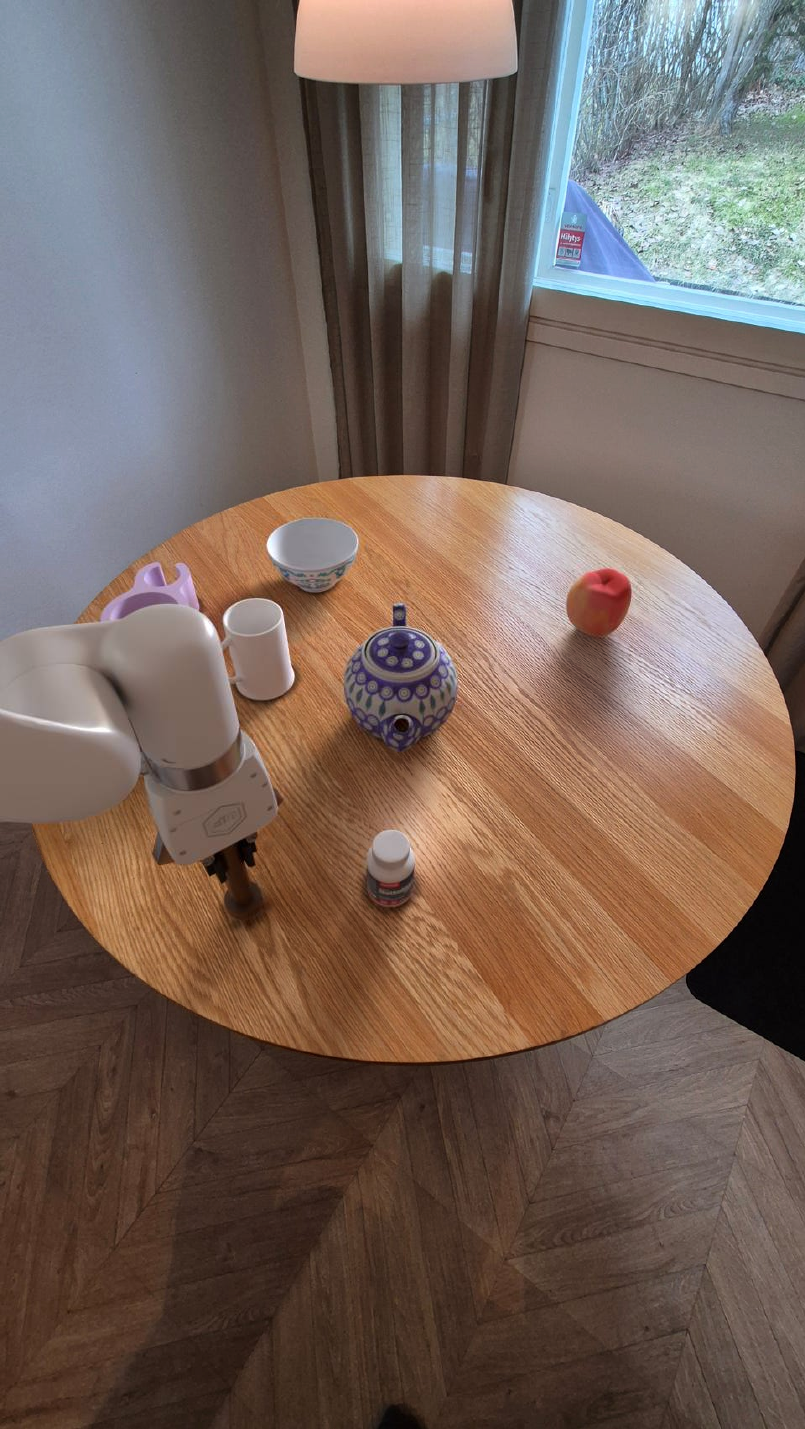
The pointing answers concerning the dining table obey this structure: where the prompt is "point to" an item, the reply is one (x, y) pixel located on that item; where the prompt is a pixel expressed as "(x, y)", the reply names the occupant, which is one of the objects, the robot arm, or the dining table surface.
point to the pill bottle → (390, 869)
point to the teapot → (400, 683)
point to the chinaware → (313, 552)
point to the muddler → (239, 885)
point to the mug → (258, 648)
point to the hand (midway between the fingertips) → (232, 863)
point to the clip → (153, 592)
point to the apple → (599, 602)
